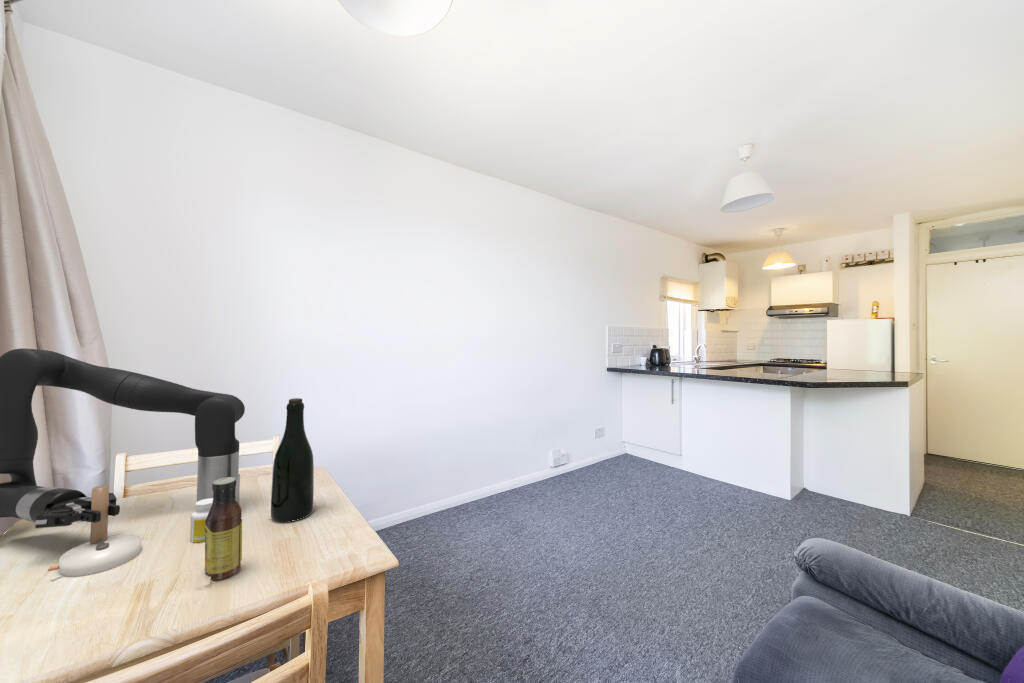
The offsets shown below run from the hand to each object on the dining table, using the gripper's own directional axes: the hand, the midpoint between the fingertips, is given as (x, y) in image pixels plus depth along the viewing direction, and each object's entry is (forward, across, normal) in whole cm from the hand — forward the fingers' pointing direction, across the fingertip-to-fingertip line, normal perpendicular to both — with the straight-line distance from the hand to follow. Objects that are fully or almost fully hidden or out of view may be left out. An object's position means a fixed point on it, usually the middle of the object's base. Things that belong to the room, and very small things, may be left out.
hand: (108, 513), depth 84 cm
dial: (+2, -2, +9) cm, 9 cm away
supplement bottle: (+13, +11, +10) cm, 20 cm away
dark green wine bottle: (+22, +28, +10) cm, 38 cm away
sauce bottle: (+29, +2, +10) cm, 31 cm away
